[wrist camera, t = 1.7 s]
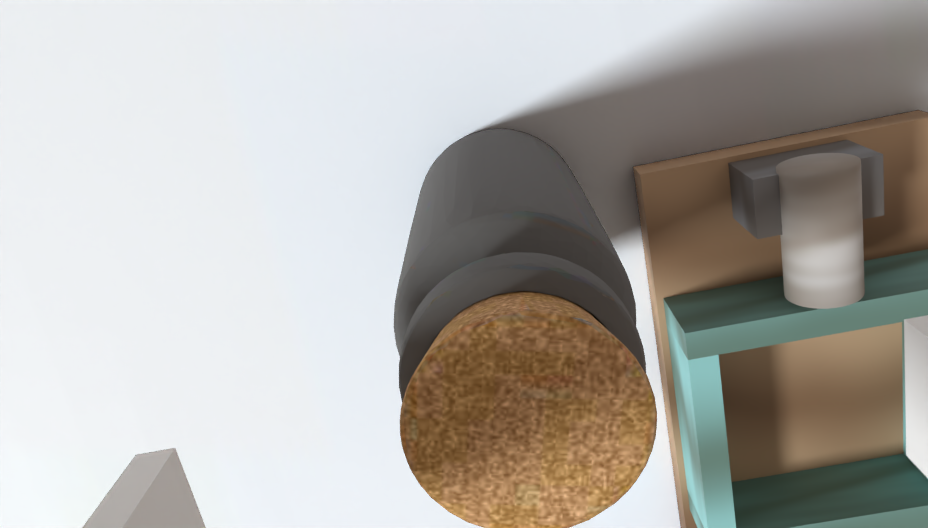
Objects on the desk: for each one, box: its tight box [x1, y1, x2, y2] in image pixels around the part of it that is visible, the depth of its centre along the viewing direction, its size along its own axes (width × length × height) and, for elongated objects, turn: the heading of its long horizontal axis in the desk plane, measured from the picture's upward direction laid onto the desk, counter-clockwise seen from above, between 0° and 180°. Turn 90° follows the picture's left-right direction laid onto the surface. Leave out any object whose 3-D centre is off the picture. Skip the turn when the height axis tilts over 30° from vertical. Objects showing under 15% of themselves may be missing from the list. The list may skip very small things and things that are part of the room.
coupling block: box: [633, 110, 928, 528], centre depth 28 cm, size 19×10×5 cm, turn 12°
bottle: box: [394, 129, 657, 528], centre depth 21 cm, size 6×6×15 cm
